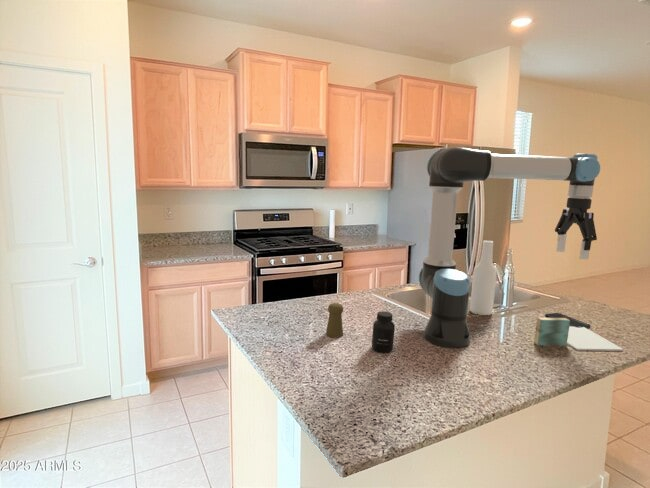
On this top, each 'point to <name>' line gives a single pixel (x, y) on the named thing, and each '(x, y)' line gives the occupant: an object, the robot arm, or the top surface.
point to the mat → (589, 340)
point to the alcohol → (484, 282)
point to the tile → (552, 331)
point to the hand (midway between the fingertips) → (571, 255)
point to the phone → (572, 321)
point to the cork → (335, 321)
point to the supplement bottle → (383, 333)
